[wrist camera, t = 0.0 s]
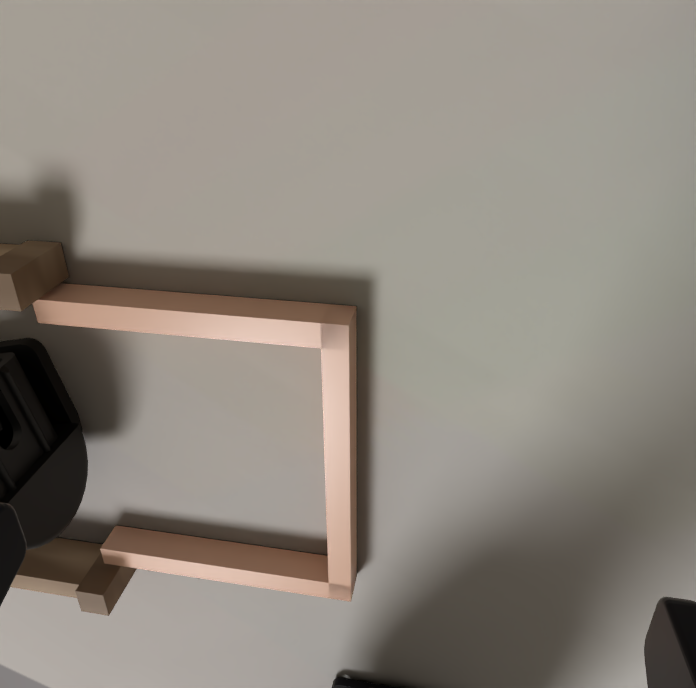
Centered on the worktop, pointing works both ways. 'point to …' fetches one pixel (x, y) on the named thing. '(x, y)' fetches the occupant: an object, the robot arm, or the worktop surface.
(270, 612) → the worktop surface
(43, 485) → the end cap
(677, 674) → the robot arm
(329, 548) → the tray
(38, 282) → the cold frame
